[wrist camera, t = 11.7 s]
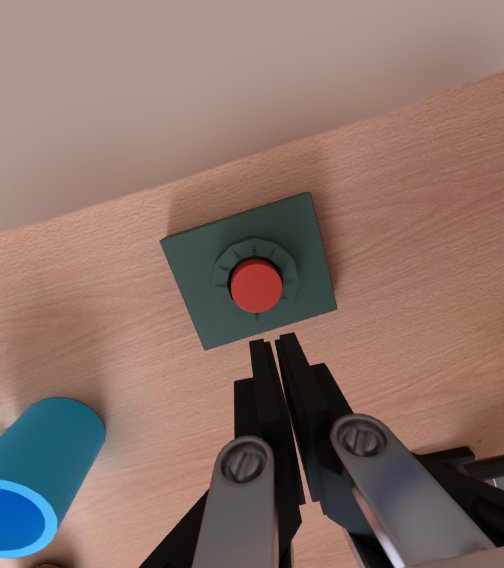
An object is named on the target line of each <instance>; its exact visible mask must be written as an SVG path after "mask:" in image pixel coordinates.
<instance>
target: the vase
mask: <svg viewBox="0 0 504 568" xmlns="http://www.w3.org/2000/svg"><path fill="white" fill-rule="evenodd" d="M35 568H61V567H59V566H56V565H52V564H43V565H39V566H37V567H35Z"/></svg>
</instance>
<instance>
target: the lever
mask: <svg viewBox="0 0 504 568" xmlns="http://www.w3.org/2000/svg"><path fill="white" fill-rule="evenodd" d="M458 470H459V472H461V473H463V474H466V475H468V476H471V477H473V478H475V479H478V480H480V481H487V483H488V484H490V485H492V486H495V487H497V488H500V489H502V490H504V454H503V455H498V456H494V457H489V458H484V459H479V460H474V461H469V462H465V463H460V464H458Z"/></svg>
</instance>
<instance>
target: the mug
mask: <svg viewBox="0 0 504 568" xmlns="http://www.w3.org/2000/svg"><path fill="white" fill-rule="evenodd" d="M104 441H105V429H104V426H103V423H102V420H101V419H100V418H99V417H98V415H97V414H96V413H95V412H94V411H93V410H91V409H90V408H89V407H87V406H86V405H84V404H82V403H79V402H77V401H74V400H71V399H64V398H51V399H44V400H41V401H39V402H37V403H35V404H33V405H31V406H30V407H29V408H28V409H27V410H26V411H25V412H24V413H23V414H22V415H21V416H20V417H19V418H18V419H17V420H16V421H15V422H14V423H13V424H12V425H11V426H10V427H9V428H8V429H7V431H6V432H5V433H4V434H3V435H2V436H1V437H0V558H9V559H10V558H17V557H23V556H28V555H30V554H33V553H35V552H38V551H40V550H42V549H43V548H44V547H45V546H47V545H48V544H49V543H50V542H51V541H52V539H53V538H54V536H55V534H56V532H57V530H58V528H59V526H60V524H61V522H62V521H63V519H64V517H65V515H66V513H67V511H68V509H69V507H70V505H71V504H72V502H73V500H74V498H75V496H76V494H77V492H78V490H79V488H80V487H81V485H82V483H83V481H84V479H85V477H86V475H87V473H88V471H89V470H90V468H91V466H92V464H93V462H94V460H95V458H96V456H97V455H98V453H99V451H100V449H101V447H102V445H103V443H104Z"/></svg>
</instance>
